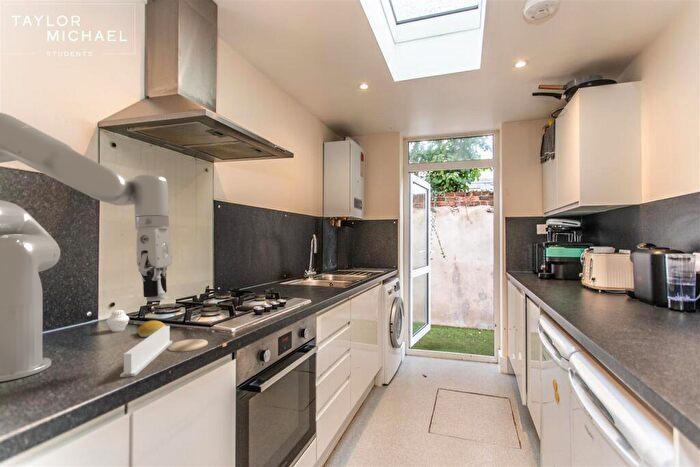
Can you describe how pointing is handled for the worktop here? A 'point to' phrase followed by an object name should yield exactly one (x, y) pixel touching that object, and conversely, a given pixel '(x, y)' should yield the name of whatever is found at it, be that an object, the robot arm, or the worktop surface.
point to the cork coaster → (188, 345)
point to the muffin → (118, 321)
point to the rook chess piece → (160, 290)
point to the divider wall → (146, 352)
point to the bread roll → (149, 328)
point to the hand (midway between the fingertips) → (155, 294)
